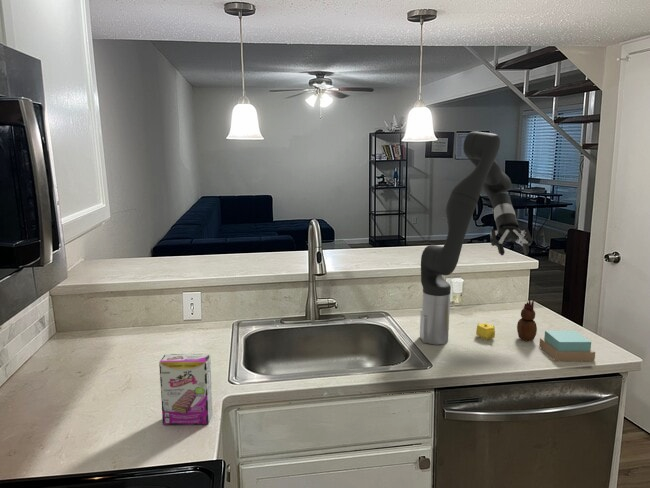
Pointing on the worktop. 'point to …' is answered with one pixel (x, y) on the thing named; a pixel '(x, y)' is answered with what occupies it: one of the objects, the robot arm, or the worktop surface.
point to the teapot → (485, 331)
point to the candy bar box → (186, 389)
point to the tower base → (566, 353)
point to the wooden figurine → (527, 323)
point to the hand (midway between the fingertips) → (514, 254)
